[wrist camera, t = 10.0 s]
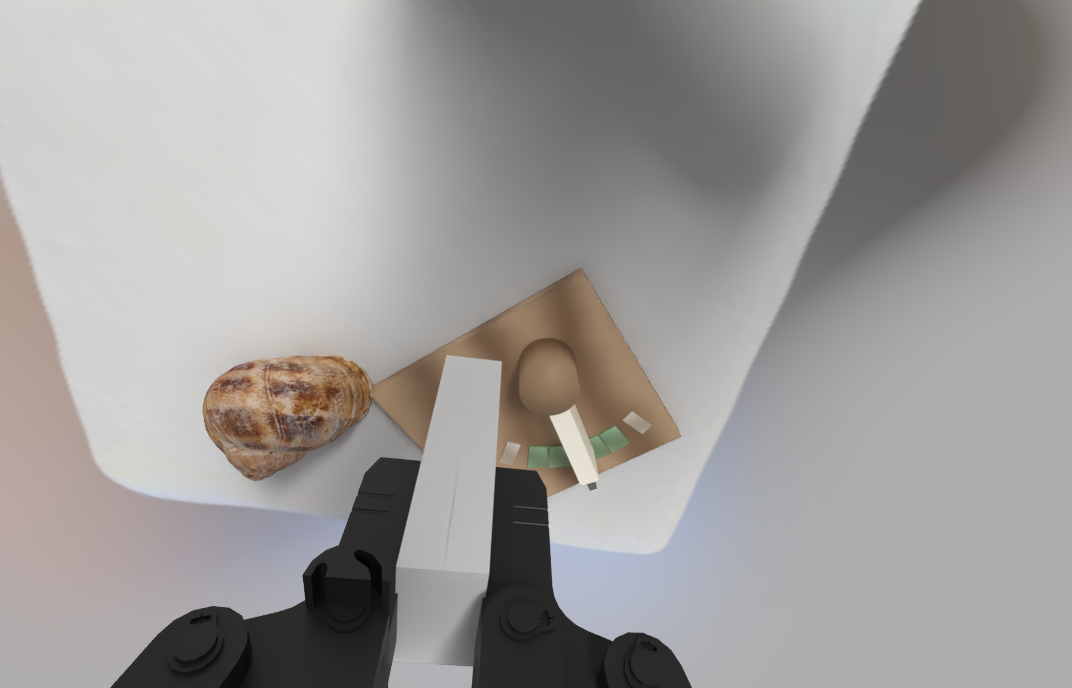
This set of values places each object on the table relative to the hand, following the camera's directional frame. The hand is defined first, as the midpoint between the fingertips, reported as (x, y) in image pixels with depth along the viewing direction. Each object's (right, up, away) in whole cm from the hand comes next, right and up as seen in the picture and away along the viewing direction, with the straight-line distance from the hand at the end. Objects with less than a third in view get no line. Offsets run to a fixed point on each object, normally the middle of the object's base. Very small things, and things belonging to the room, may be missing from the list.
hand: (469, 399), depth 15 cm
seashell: (-18, -2, +29) cm, 35 cm away
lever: (+4, -3, +29) cm, 29 cm away
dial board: (+1, -4, +30) cm, 31 cm away
